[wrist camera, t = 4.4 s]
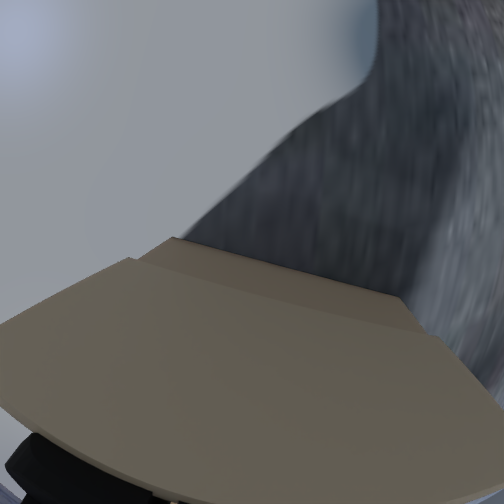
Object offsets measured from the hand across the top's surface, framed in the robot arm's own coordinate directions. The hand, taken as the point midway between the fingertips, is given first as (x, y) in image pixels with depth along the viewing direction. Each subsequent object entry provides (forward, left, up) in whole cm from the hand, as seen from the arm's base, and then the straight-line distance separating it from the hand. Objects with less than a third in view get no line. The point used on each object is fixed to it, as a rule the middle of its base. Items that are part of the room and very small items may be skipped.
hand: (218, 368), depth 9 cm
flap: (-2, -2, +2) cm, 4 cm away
